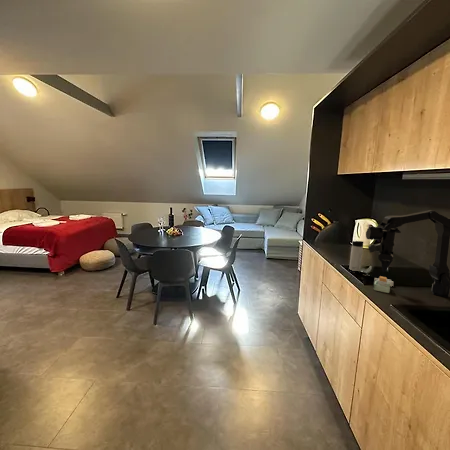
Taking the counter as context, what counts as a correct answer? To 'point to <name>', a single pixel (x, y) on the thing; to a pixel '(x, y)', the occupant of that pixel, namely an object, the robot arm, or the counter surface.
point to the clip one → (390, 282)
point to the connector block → (382, 281)
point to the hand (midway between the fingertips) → (383, 269)
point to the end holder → (382, 287)
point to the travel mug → (356, 255)
